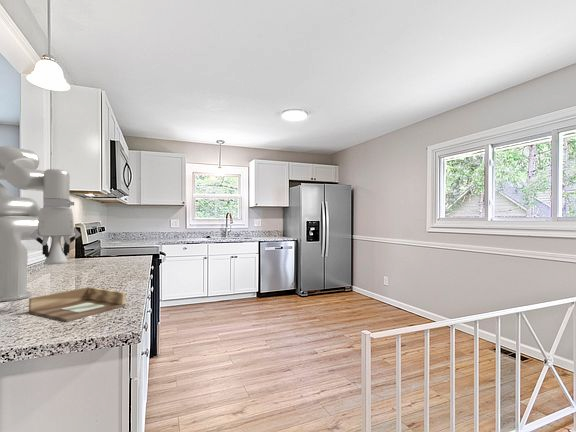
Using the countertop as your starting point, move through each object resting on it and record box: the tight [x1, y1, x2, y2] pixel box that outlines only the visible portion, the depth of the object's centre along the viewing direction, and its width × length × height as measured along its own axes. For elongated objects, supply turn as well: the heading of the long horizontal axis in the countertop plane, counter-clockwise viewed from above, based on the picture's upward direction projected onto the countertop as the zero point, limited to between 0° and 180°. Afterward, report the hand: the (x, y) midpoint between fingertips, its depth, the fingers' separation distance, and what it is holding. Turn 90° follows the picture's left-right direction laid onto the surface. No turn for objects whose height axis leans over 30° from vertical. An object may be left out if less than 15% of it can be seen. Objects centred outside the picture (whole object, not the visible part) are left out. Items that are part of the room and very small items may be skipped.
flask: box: [43, 236, 69, 266], centre depth 112 cm, size 7×7×10 cm
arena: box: [28, 286, 127, 323], centre depth 108 cm, size 20×20×5 cm
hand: (56, 255), depth 111 cm, fingers closed on flask, 4 cm apart
